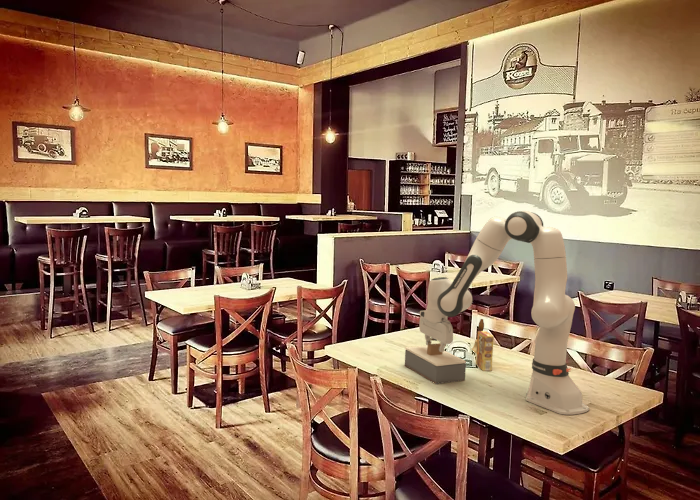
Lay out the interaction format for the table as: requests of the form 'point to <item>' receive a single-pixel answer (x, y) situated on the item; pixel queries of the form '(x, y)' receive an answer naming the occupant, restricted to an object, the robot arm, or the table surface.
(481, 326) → the hand bell
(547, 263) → the robot arm
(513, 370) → the table surface
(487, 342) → the candy box
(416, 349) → the lid
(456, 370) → the storage box
